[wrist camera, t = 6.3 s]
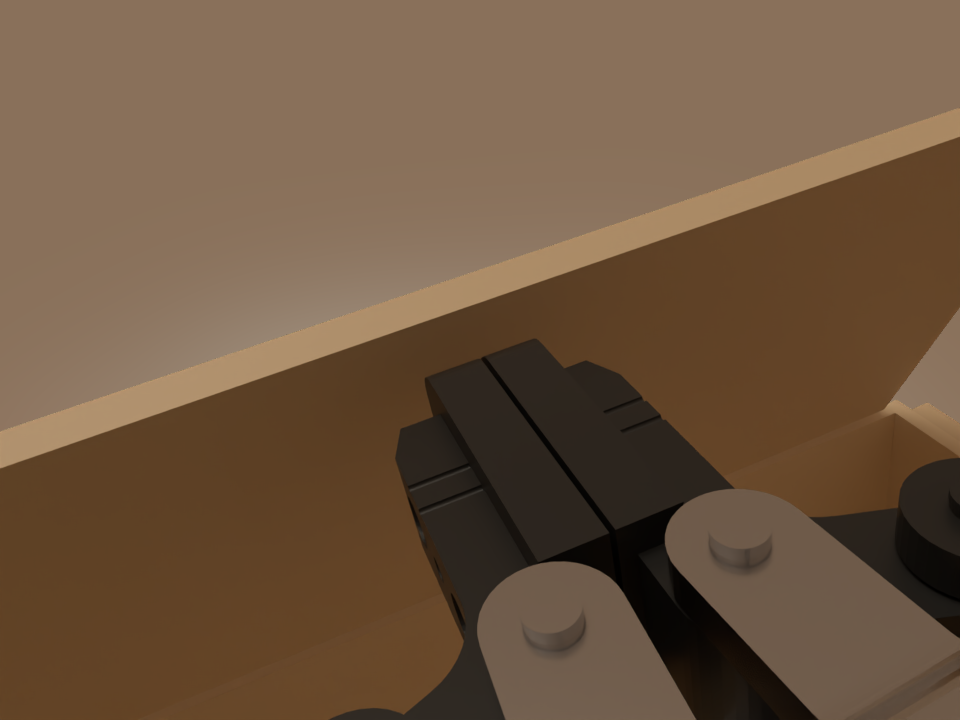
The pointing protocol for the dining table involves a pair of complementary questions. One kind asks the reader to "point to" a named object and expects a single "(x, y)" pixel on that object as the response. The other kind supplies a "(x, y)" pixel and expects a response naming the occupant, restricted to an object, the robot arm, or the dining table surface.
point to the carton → (434, 633)
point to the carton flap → (403, 401)
